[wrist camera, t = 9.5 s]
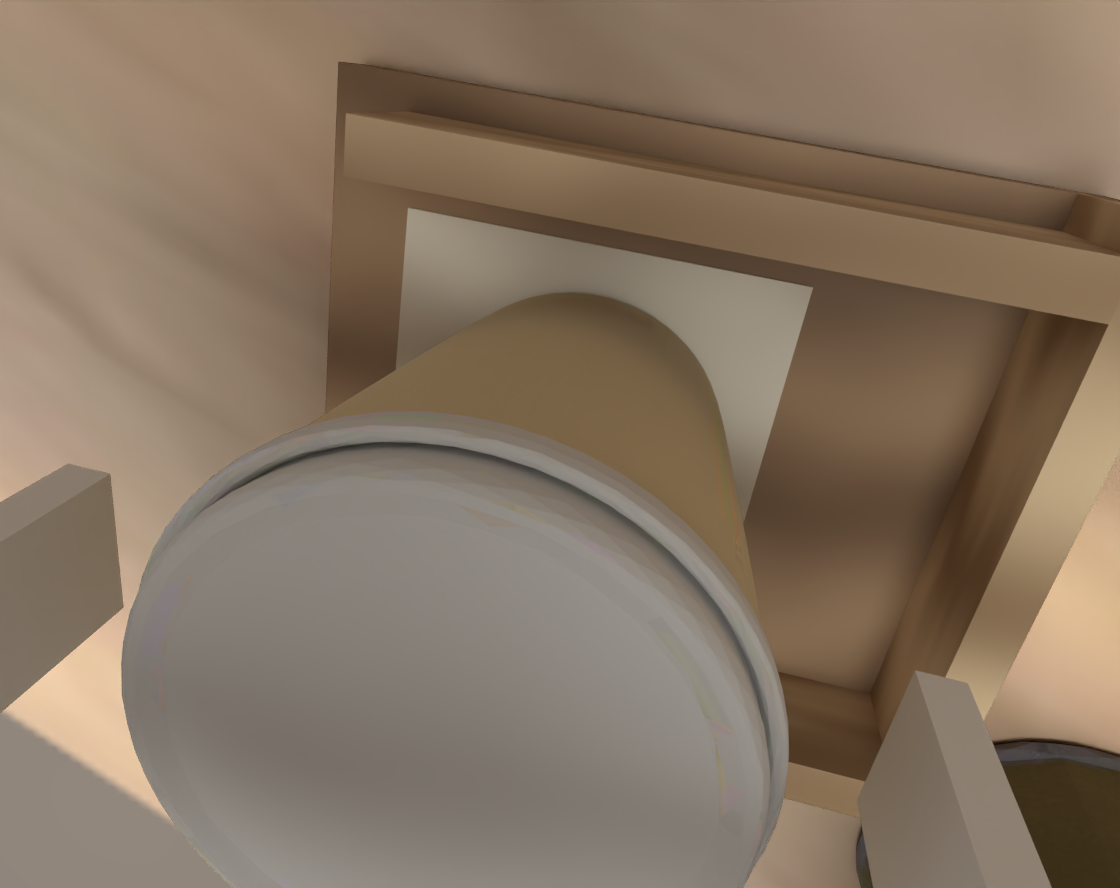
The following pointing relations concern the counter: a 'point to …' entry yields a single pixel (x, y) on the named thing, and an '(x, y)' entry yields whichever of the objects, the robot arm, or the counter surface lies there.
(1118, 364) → the dock
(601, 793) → the coffee cup
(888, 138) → the counter surface
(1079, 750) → the canister
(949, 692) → the robot arm
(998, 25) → the counter surface
